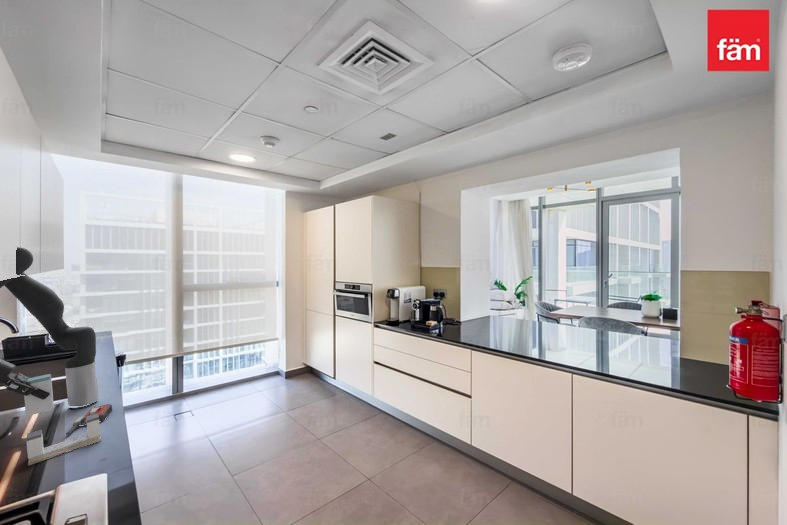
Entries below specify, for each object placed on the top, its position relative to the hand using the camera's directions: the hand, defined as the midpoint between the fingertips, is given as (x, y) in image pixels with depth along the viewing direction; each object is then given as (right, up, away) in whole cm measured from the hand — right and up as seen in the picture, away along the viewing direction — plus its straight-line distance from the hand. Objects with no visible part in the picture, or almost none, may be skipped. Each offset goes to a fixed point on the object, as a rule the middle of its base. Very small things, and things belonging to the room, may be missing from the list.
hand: (47, 394), depth 108 cm
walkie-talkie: (+2, -16, +13) cm, 21 cm away
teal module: (-1, -5, -1) cm, 5 cm away
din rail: (+11, -15, -5) cm, 20 cm away
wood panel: (+11, -15, -5) cm, 20 cm away
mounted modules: (+11, -14, -5) cm, 18 cm away
